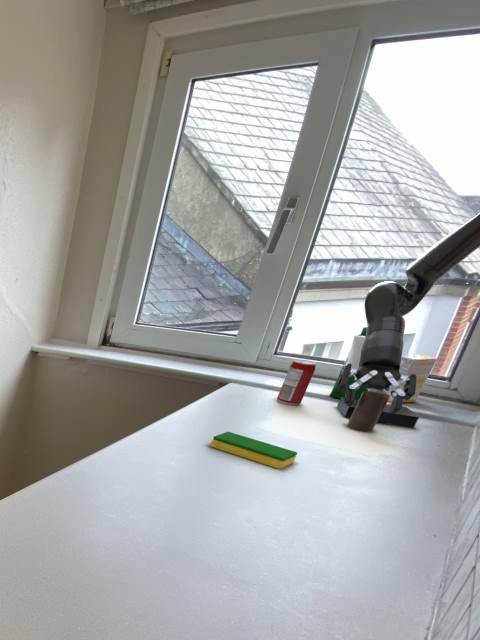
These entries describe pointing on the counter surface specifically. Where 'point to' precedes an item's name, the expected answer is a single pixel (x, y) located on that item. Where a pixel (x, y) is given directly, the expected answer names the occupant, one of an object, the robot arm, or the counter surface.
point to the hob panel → (384, 414)
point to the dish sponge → (254, 449)
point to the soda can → (296, 382)
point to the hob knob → (378, 390)
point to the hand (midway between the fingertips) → (371, 408)
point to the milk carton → (352, 366)
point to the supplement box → (415, 371)
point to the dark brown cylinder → (368, 411)
